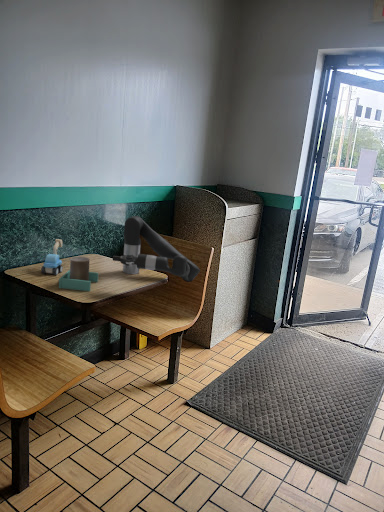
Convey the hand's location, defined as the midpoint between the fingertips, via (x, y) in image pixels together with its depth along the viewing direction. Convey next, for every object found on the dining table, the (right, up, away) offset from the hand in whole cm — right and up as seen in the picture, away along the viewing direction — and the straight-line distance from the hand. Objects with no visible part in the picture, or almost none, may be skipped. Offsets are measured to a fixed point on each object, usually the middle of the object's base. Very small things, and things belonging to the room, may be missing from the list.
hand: (113, 258), depth 215 cm
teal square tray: (-19, -14, +5) cm, 24 cm away
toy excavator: (-37, -8, +23) cm, 44 cm away
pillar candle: (-19, -14, +6) cm, 24 cm away
